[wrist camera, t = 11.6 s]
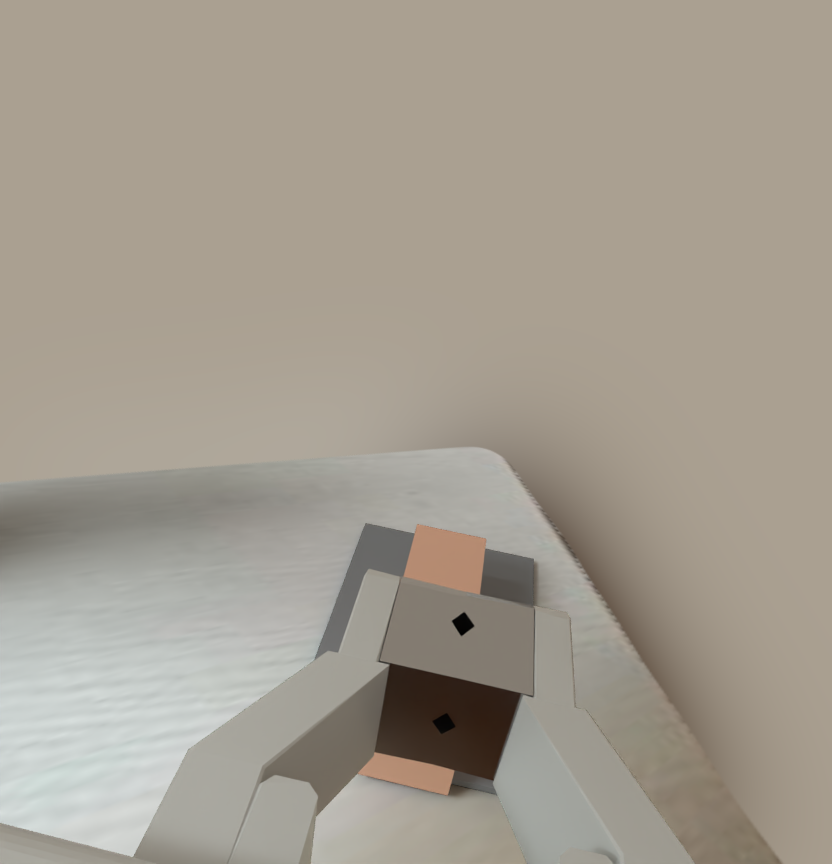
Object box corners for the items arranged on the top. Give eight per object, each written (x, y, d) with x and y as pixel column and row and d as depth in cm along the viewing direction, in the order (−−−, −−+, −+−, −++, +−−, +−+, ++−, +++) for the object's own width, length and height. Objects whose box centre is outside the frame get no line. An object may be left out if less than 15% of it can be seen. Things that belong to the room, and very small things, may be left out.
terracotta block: (463, 738, 33) (486, 538, 47) (366, 715, 33) (417, 524, 47) (447, 795, 36) (473, 590, 49) (357, 773, 36) (408, 575, 50)
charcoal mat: (529, 802, 36) (530, 797, 36) (284, 743, 37) (284, 738, 37) (532, 563, 53) (533, 558, 53) (364, 527, 55) (365, 523, 54)
